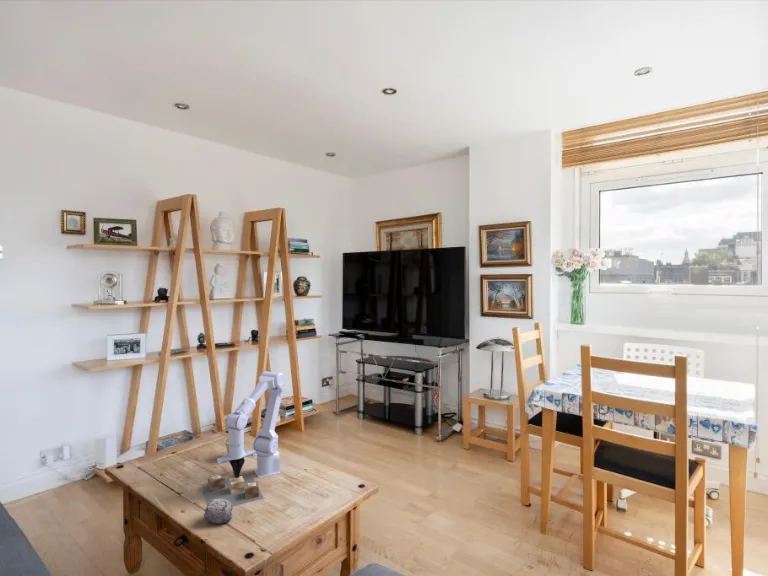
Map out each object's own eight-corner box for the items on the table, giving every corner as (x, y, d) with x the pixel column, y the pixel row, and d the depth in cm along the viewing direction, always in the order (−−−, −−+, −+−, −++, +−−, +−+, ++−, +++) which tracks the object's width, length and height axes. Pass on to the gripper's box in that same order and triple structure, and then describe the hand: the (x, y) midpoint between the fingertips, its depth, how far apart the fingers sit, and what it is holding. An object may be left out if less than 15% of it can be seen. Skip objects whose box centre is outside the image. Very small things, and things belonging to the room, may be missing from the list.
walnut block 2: (258, 490, 169) (258, 480, 169) (258, 496, 164) (258, 486, 164) (245, 492, 167) (245, 482, 167) (245, 499, 163) (245, 488, 163)
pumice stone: (238, 523, 151) (220, 508, 156) (242, 504, 150) (225, 489, 155) (214, 537, 143) (196, 521, 147) (218, 517, 141) (200, 501, 146)
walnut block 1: (219, 483, 175) (219, 473, 175) (224, 487, 172) (224, 477, 171) (207, 487, 172) (207, 477, 172) (212, 491, 168) (212, 481, 168)
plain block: (241, 485, 173) (241, 476, 173) (244, 490, 169) (244, 481, 169) (229, 488, 171) (229, 478, 171) (231, 494, 166) (231, 484, 166)
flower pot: (241, 462, 196) (241, 443, 196) (221, 461, 196) (221, 443, 196) (248, 453, 206) (247, 436, 205) (228, 453, 206) (228, 436, 206)
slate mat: (250, 474, 184) (250, 473, 184) (263, 499, 163) (263, 498, 163) (201, 485, 174) (201, 484, 174) (208, 513, 154) (208, 512, 154)
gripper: (251, 436, 177) (251, 468, 177) (215, 444, 169) (215, 477, 169) (256, 442, 171) (257, 474, 171) (219, 450, 163) (220, 485, 163)
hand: (236, 476), depth 170 cm, fingers closed
